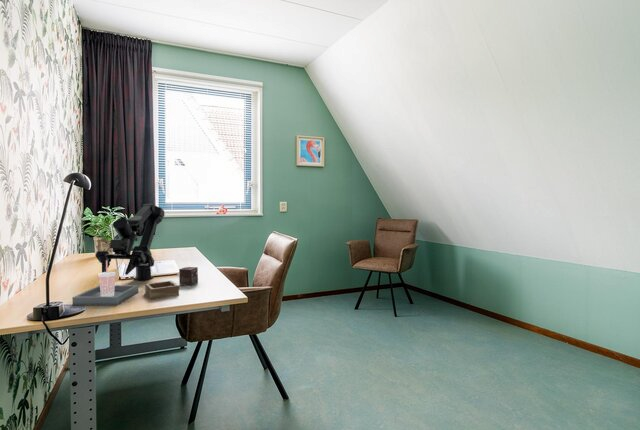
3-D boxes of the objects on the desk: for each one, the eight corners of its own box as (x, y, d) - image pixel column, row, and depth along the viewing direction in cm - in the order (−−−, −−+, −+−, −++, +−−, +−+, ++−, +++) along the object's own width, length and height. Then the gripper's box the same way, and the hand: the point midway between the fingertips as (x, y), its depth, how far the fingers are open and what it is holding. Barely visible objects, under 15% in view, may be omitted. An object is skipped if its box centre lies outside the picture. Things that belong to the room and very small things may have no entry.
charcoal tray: (99, 292, 160) (99, 285, 160) (138, 292, 160) (138, 285, 160) (72, 305, 142) (72, 297, 142) (116, 305, 142) (116, 297, 142)
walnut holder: (145, 293, 159) (145, 284, 158) (171, 289, 165) (171, 280, 164) (151, 299, 150) (151, 289, 150) (178, 295, 156) (178, 285, 156)
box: (191, 286, 171) (191, 269, 171) (179, 285, 173) (178, 269, 172) (198, 282, 177) (198, 267, 177) (186, 282, 179) (186, 266, 178)
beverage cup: (116, 293, 155) (115, 258, 154) (116, 296, 150) (115, 261, 149) (98, 295, 152) (97, 259, 151) (98, 298, 147) (97, 262, 146)
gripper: (96, 231, 160) (82, 263, 150) (142, 231, 161) (130, 263, 150) (107, 247, 168) (94, 278, 158) (150, 247, 169) (140, 278, 159)
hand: (114, 274), depth 156 cm, fingers open, 9 cm apart
